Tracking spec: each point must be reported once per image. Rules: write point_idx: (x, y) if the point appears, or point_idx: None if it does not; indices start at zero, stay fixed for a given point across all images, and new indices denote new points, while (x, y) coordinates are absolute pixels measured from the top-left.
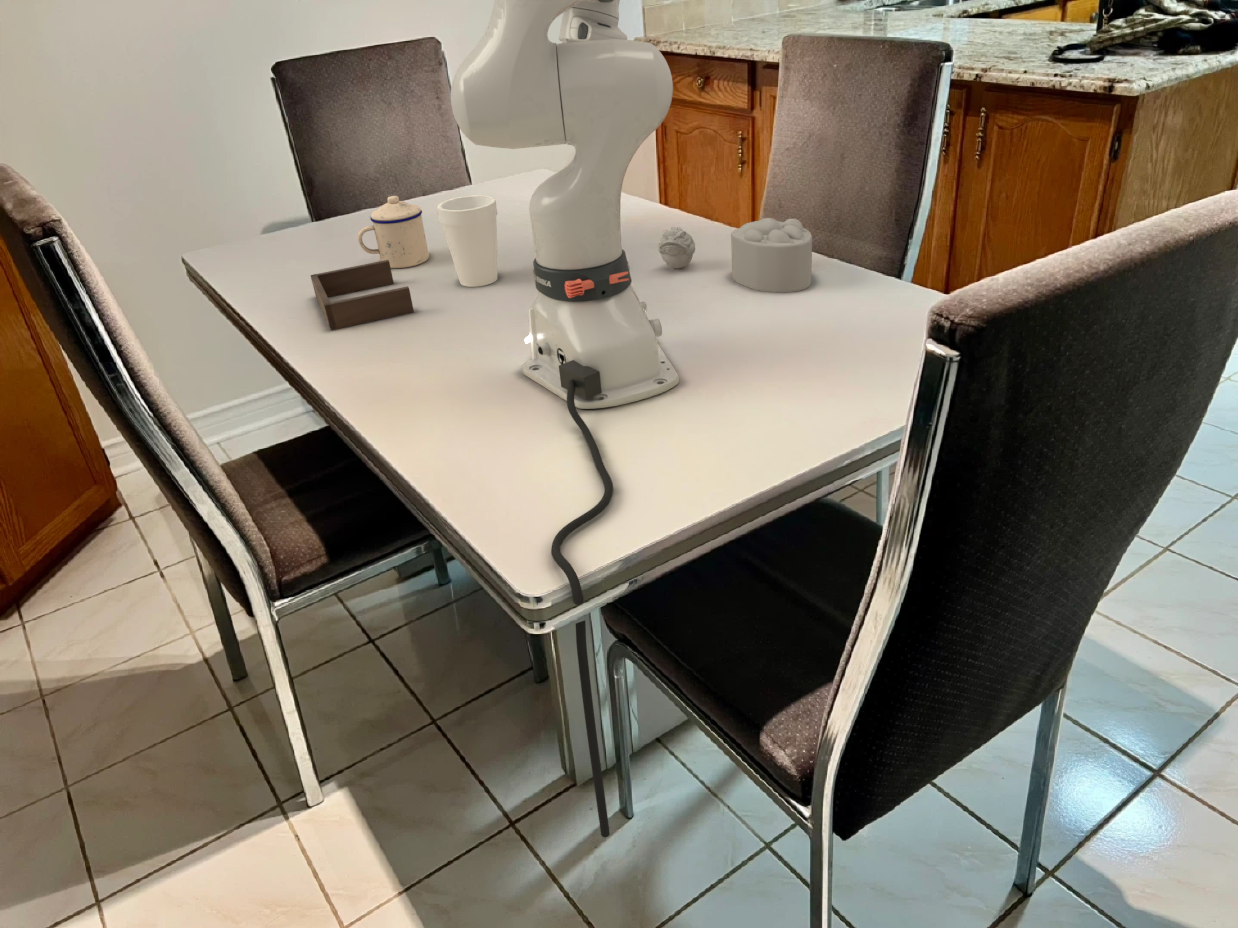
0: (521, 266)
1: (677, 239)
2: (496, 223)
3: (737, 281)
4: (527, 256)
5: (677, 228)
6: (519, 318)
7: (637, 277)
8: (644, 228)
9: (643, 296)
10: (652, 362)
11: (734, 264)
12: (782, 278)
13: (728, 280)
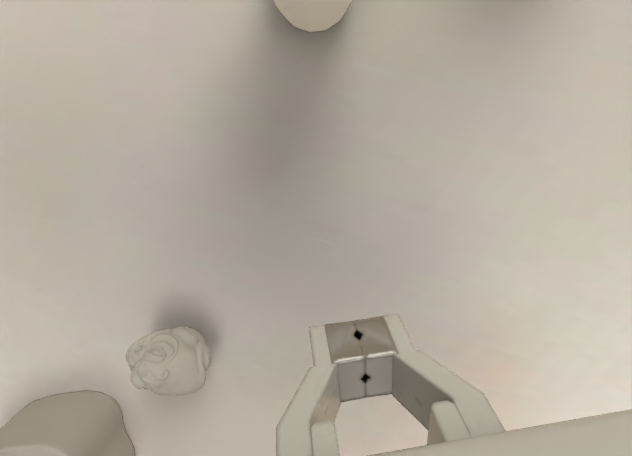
0: (351, 94)
1: (129, 364)
2: (303, 1)
3: (76, 392)
4: (406, 121)
5: (145, 381)
6: (64, 19)
7: (176, 268)
8: None
9: (80, 246)
10: None
11: (68, 408)
12: None
13: (93, 384)
